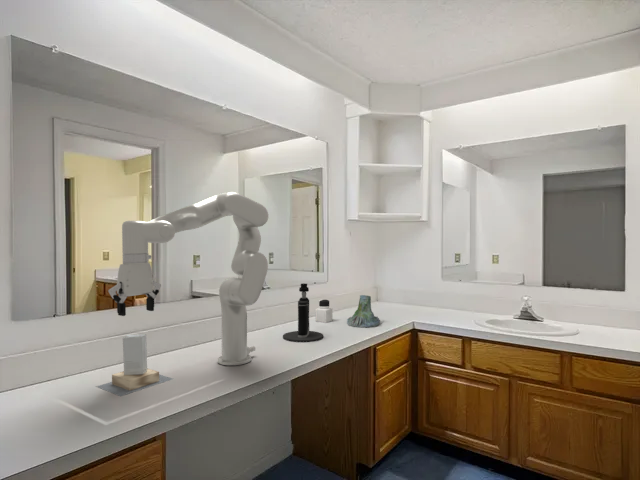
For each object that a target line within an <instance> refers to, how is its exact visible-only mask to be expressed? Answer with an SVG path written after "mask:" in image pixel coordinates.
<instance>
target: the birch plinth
mask: <svg viewBox="0 0 640 480" xmlns="http://www.w3.org/2000/svg"><path fill="white" fill-rule="evenodd" d="M159 374H160V371H158V370H154V369H151V368H148V367H147V371H146V372H145V373H144V374H141V375H124V370H123V371H119V372H116V373H112V374H111V382H112V384H113V385H116V386H119V387H121V388H124V389H127V390H133V389H136V388H139V387H143V386H146V385H149V384H152V383H155V382H158V381H159Z"/></svg>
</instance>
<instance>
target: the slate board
mask: <svg viewBox="0 0 640 480" xmlns="http://www.w3.org/2000/svg"><path fill="white" fill-rule="evenodd" d="M172 380H174V378H172V377H169V376H166V375H162V374H160V373H159V381H158V382H155V383H152V384H149V385H146V386H143V387H139V388H136V389H133V390H127V389H124V388H121V387H119V386H116V385H113V384H112V381H109V382H107V383H103V384H100V385H97V386H95V387H96V388H98V389H102V390H103V391H105V392H109V393H111V394H114V395H116V396H119V397H123V396H126V395H128V394H132V393H135V392H138V391H142V390H144V389H148V388H150V387H154V386H156V385H159V384H163V383H166V382H168V381H169V382H170V381H172Z"/></svg>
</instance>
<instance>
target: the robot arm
mask: <svg viewBox="0 0 640 480" xmlns="http://www.w3.org/2000/svg"><path fill="white" fill-rule="evenodd" d="M228 216H232V219H233V223H234V224H235V226H236V227H237V228H236V229H237V230H238V234H239V237H238V242H237V246H236V249H235V251H234V254H233V257H232V260H231V266H230V268H231V271H232V273H234V274H236V275H237V276H241V278H240V277H229V278H227V279H224V280H223V281H222V282H221V284H220V285H219V289H218V291H219V292H218V294H219V295H218V296H219V301H220V302H219V303H220V307H221V355H220V356H219V357H217V364H220V365H223V366H240V365H245V364H248V363H250V362H251V361H252V356H251V355H250V353H252V352H255V351H256V346H254V345H253V346H248V311H247V306H249V307H250V306H252V305H254V304H255V303H257V301H258V299H259V298H260V295H261V293H262V291H263V290H262V289H263V286H264V283H265V280H266V276H267V273H268V271H269V264H268V263H269V262H268V259H267V257H266V255H264V254H263V253H261V252H260V247H261V244H262V243H261V241H262V237H261V233H260V230H259V227H263V226H265V225H266V224H267V222H268V220H269V212H268V209H267V208H266V207H265V206H264V205H263V204H261V203H259V202H257V201H255V200H253V199H251V198H249V197H247V196H245V195H243V194H240V193H238V192H234V191H230V192H229V191H228V192H223V193H222V192H221V193H218V194H215V195H212V196H210V197H208V198H207V197H206V198H205V199H203V200H200V201H197V202H195V203H192V204H189V205H188V206H184V207H181V208H179V209H176V210H174V211H172V212H168V213H166V214H164V215H160V216H158V217H156V218H153V219H151V220H148V221H144V220H126V221H123V223H122V225H121V233H122V234H121V238H122V239H121V240H122V241H121V243H122V244H121V245H122V247H121V248H122V264H119V268H118V270H117V271H118V272H117V278H116V279H117V281H116V284H115V285H114V286H112V287H111V288H109V289H108V290H107V291H108V293H109V295H110V297H111V299H112V300H113V301H114V302H115V303H116V308H117V309H116V313H117V315H118V316H121V317H125V316H126V315H127V314H126V313H127V312H126V310H127V309H126V302H125V301H126V299H127V298H128V297H132V296H133V297H134V296H139V295H140V296H141V295H145V296H146V300H145V301H146V302H145V303H146V305H145V306H146V310H147V312H148V311H150V312H154V310H155V299H156V298H157V295H158V294H159V292H160V289H161V287H162V284H161V283H159V282H157V281H155V280H154V277H153V270H152V265H151V263H150V262H149V260H151V259H152V255H151V254H149V243H150V244H166V243H169V242H170V241H171V240H172V239H174V237H175V234H177V233H180V232H184V231H190V230H192V231H193V230H196V229H199V228H202V227H204V226H206V225H208V224H211V223H212V222H215V221H218V220H220V219H222V218H225V217H228Z"/></svg>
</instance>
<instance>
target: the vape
mask: <svg viewBox="0 0 640 480" xmlns="http://www.w3.org/2000/svg"><path fill="white" fill-rule="evenodd" d="M298 290H299V293H300V292H301V297H300V298H299V300H298V301H297V330H294V331H288V332H286V333H283V335H282V339H283V340H285V341H287V342H292V343H313V342H318V341H321V340H322V339H324V334H323V333H321V332H318V331H316V330H315V331H314V330H310V299H309V298H308V297H307V293H308V292H309V286H308V283H300V287H299V289H298Z"/></svg>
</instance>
